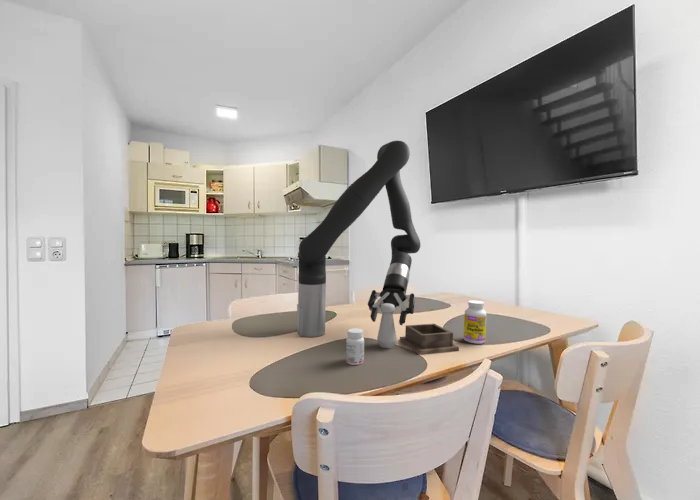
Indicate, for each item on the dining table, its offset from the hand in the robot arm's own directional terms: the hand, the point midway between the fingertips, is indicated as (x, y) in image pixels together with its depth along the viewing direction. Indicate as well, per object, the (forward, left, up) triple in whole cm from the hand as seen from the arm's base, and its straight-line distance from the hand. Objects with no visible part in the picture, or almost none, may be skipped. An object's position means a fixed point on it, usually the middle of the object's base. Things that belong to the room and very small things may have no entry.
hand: (386, 322), depth 96 cm
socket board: (+13, -1, -8) cm, 15 cm away
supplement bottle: (+30, -1, -8) cm, 31 cm away
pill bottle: (-13, -8, -8) cm, 17 cm away
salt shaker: (0, +1, -8) cm, 8 cm away
